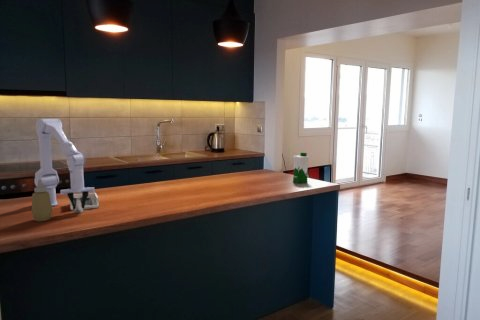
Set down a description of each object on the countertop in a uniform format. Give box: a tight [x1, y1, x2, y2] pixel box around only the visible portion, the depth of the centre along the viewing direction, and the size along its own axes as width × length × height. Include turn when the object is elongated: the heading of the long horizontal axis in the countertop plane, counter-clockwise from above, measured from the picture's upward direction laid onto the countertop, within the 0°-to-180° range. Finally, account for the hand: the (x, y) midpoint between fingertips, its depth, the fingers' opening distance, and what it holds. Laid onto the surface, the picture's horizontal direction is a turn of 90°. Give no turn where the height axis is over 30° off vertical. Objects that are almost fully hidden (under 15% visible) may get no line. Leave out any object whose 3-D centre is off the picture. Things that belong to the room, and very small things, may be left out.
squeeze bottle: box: [31, 179, 53, 222], centre depth 159 cm, size 8×8×18 cm
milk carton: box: [292, 152, 310, 185], centre depth 245 cm, size 9×9×20 cm
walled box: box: [69, 192, 100, 212], centre depth 183 cm, size 13×13×5 cm
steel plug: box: [74, 197, 84, 214], centre depth 172 cm, size 4×4×7 cm
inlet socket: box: [82, 198, 92, 206], centre depth 183 cm, size 7×7×2 cm
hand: (78, 208), depth 172 cm, fingers closed on steel plug, 4 cm apart
